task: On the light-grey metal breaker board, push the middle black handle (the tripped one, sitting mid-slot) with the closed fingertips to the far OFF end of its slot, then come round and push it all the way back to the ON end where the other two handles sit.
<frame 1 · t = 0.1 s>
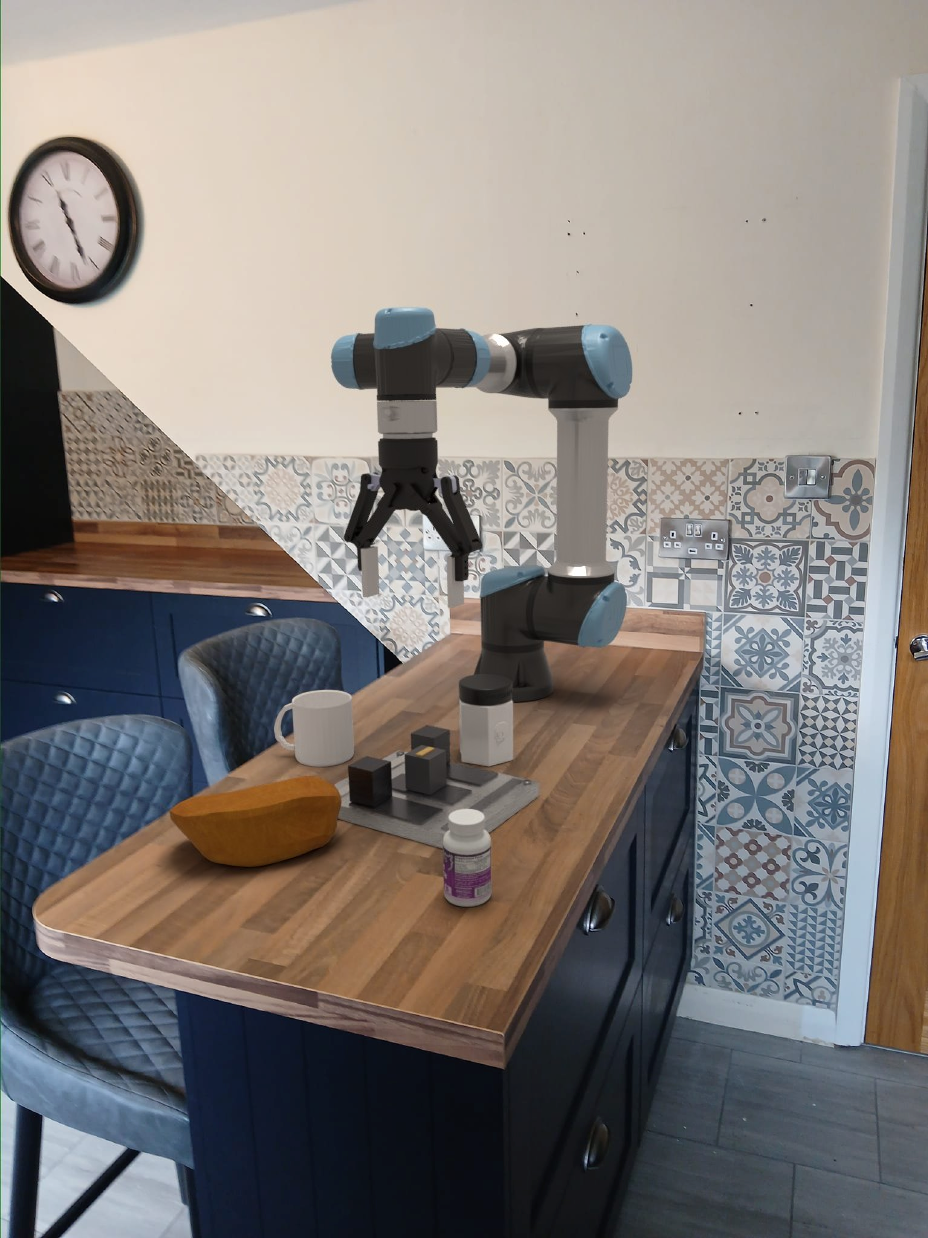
hand: (412, 600, 126), 28 cm above the counter, fingers open, 13 cm apart
jar: (486, 757, 148), on the counter
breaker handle: (425, 769, 130), point 5 cm above the counter, slide at 4.0 cm
mug: (316, 756, 149), on the counter
bread: (258, 848, 120), on the counter
pill bottle: (467, 897, 107), on the counter
panel: (426, 803, 131), on the counter
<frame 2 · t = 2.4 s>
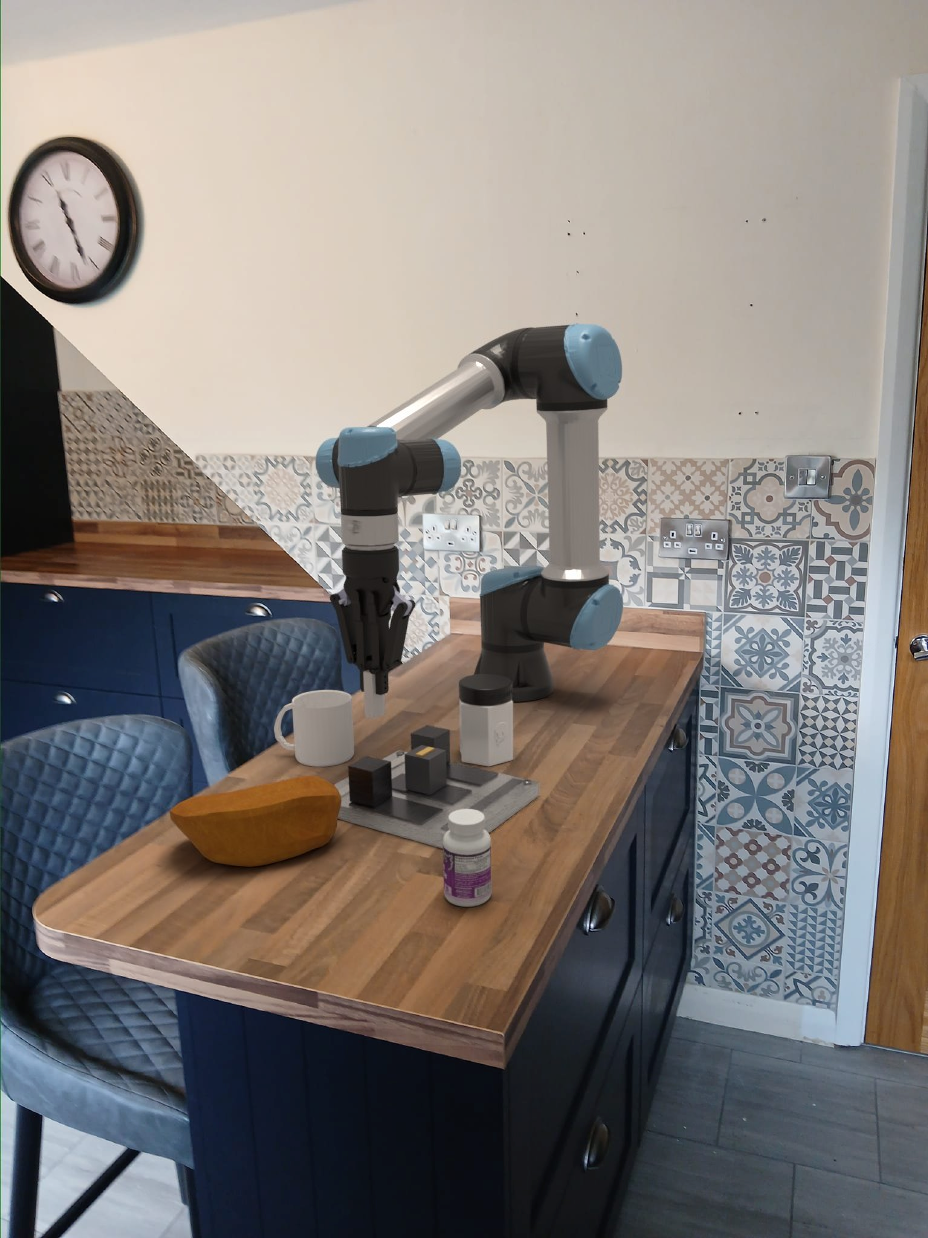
hand: (375, 715, 132), 11 cm above the counter, fingers closed
nothing on the counter moved.
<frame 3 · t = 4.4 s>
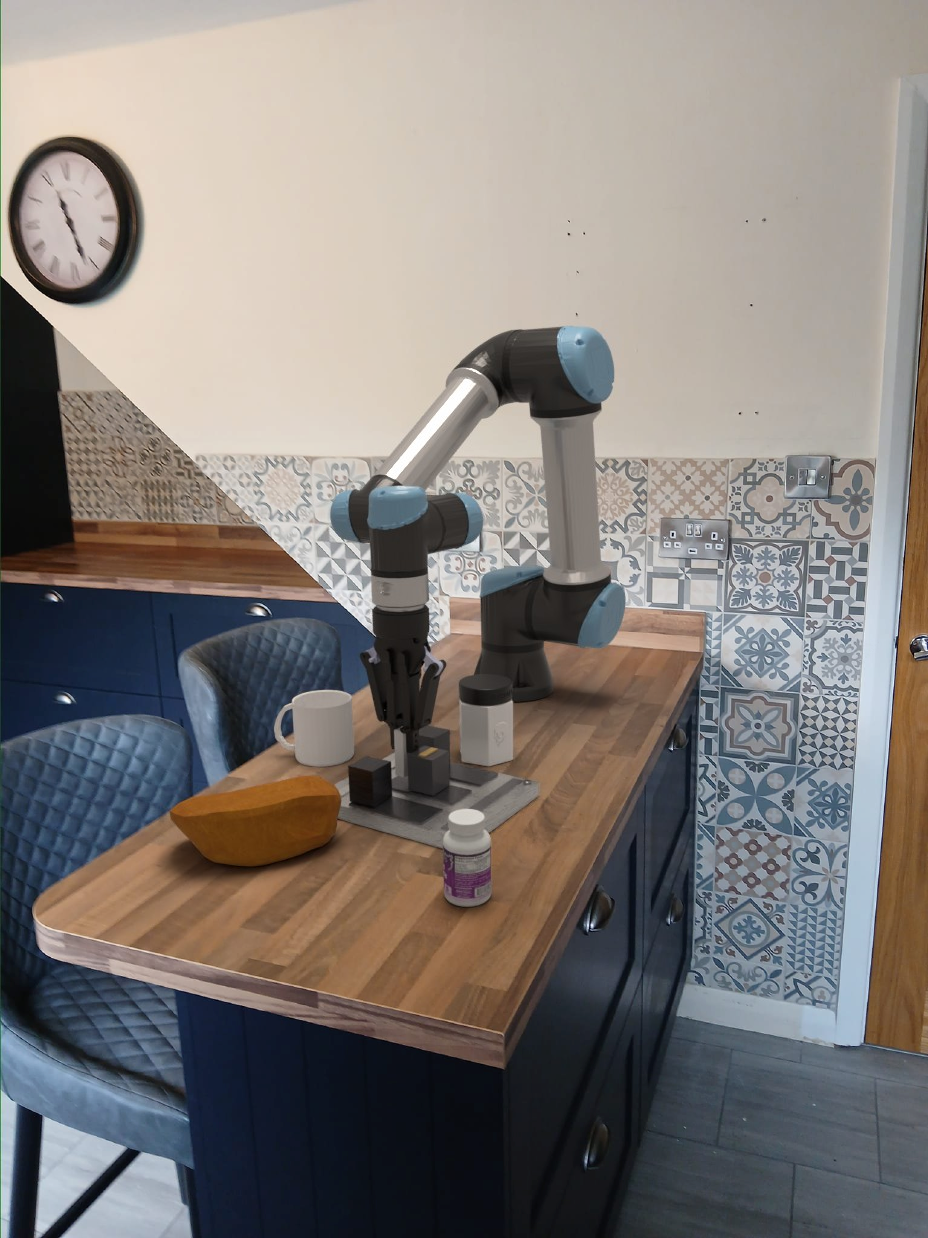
hand: (405, 772, 132), 4 cm above the counter, fingers closed
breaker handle: (428, 769, 130), point 5 cm above the counter, slide at 3.5 cm, touching gripper
everything else where it was.
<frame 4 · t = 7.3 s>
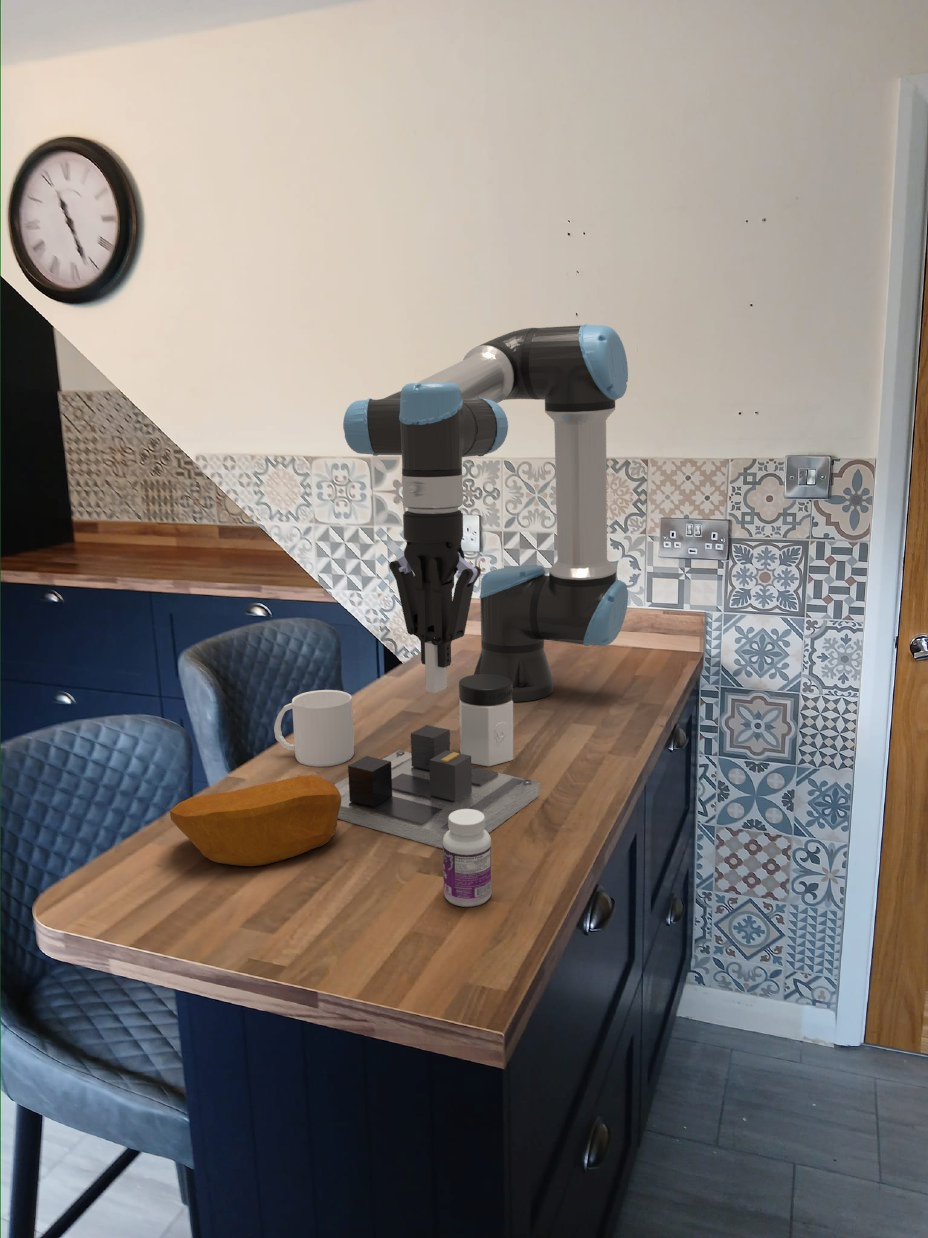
hand: (436, 689, 126), 17 cm above the counter, fingers closed
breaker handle: (450, 774, 128), point 5 cm above the counter, slide at 0.0 cm
everything else where it was.
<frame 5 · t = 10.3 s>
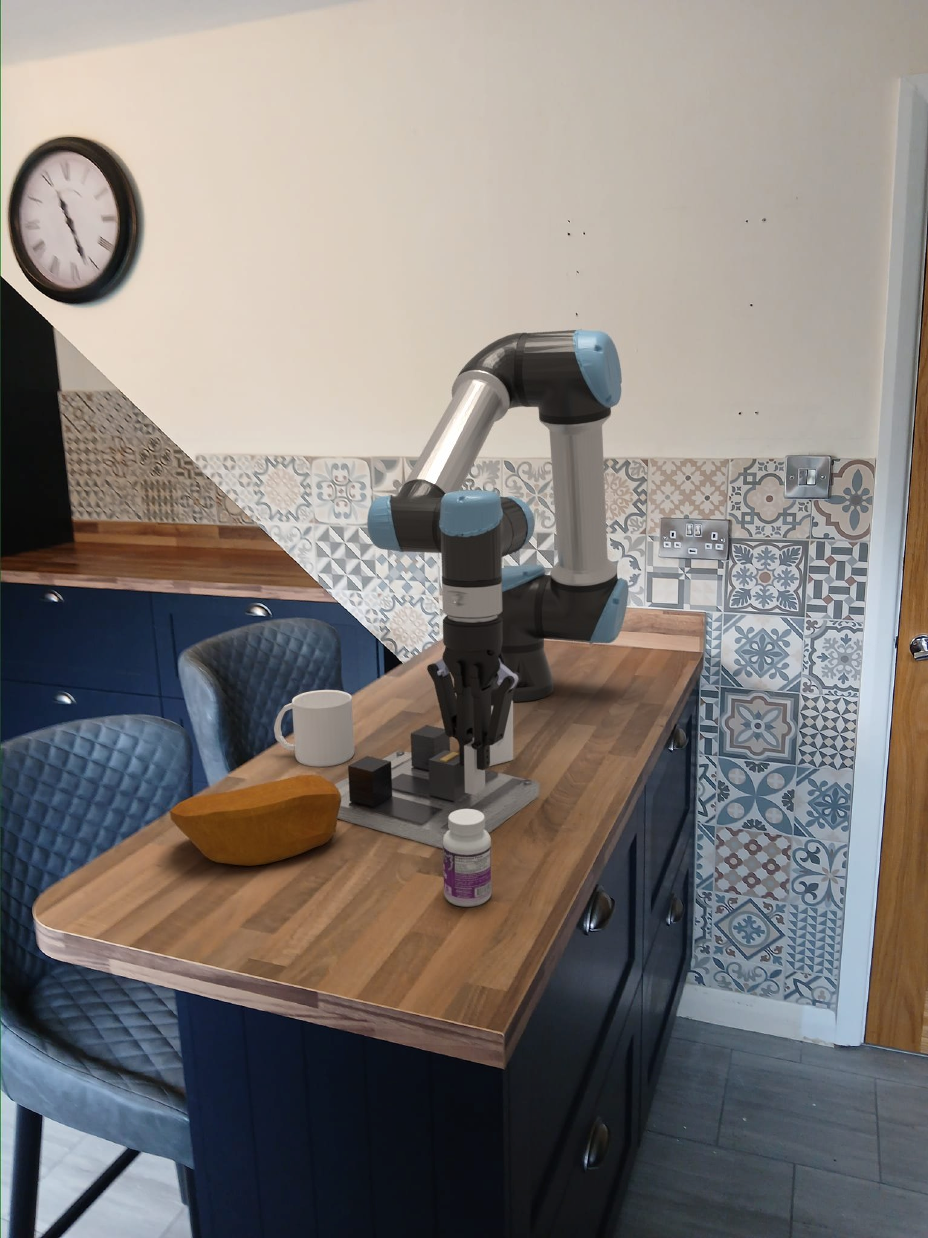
hand: (475, 790, 126), 4 cm above the counter, fingers closed
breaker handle: (449, 774, 128), point 5 cm above the counter, slide at 0.1 cm, touching gripper
everything else where it was.
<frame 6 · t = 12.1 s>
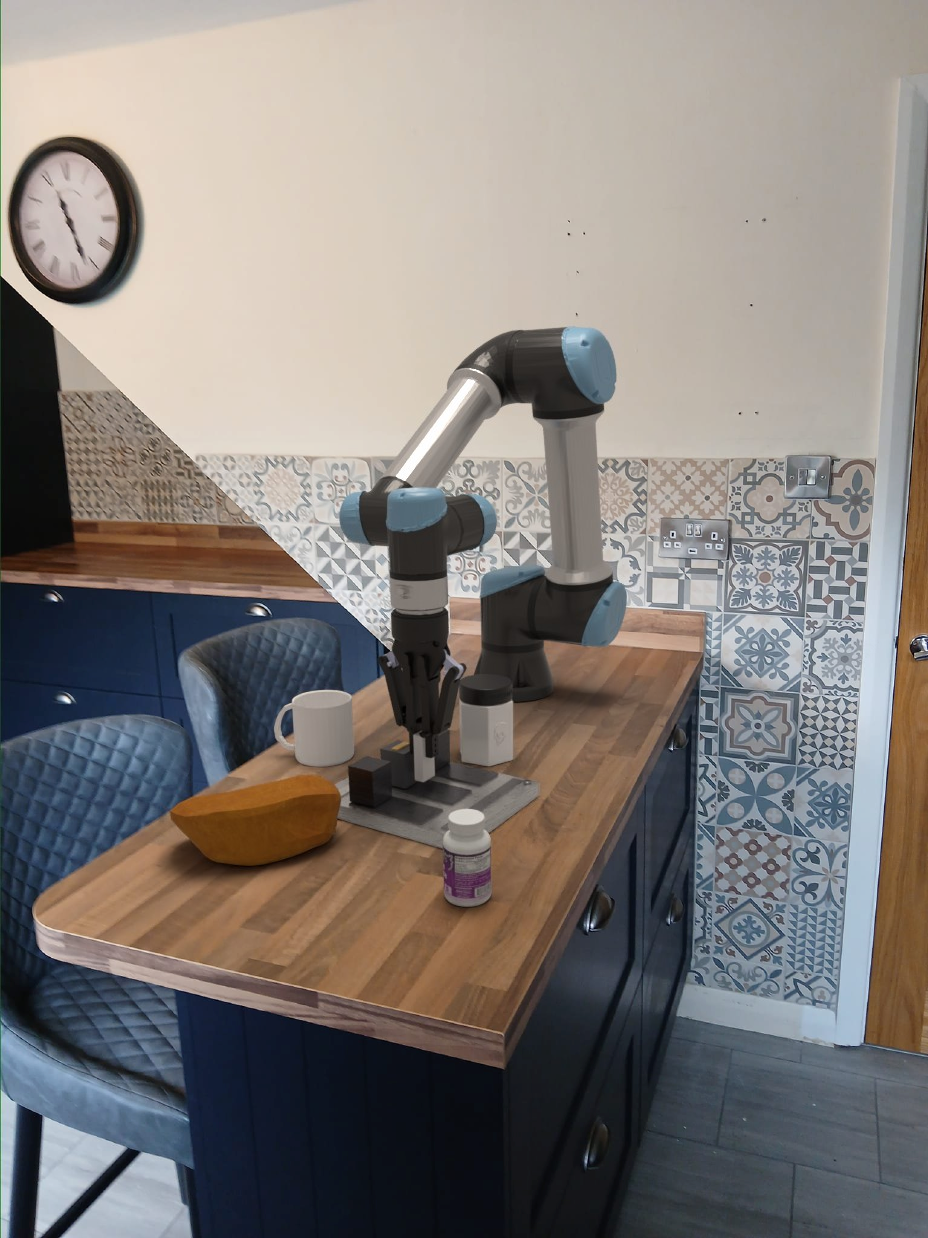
hand: (424, 777, 130), 4 cm above the counter, fingers closed
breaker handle: (401, 763, 132), point 5 cm above the counter, slide at 8.1 cm, touching gripper
everything else where it was.
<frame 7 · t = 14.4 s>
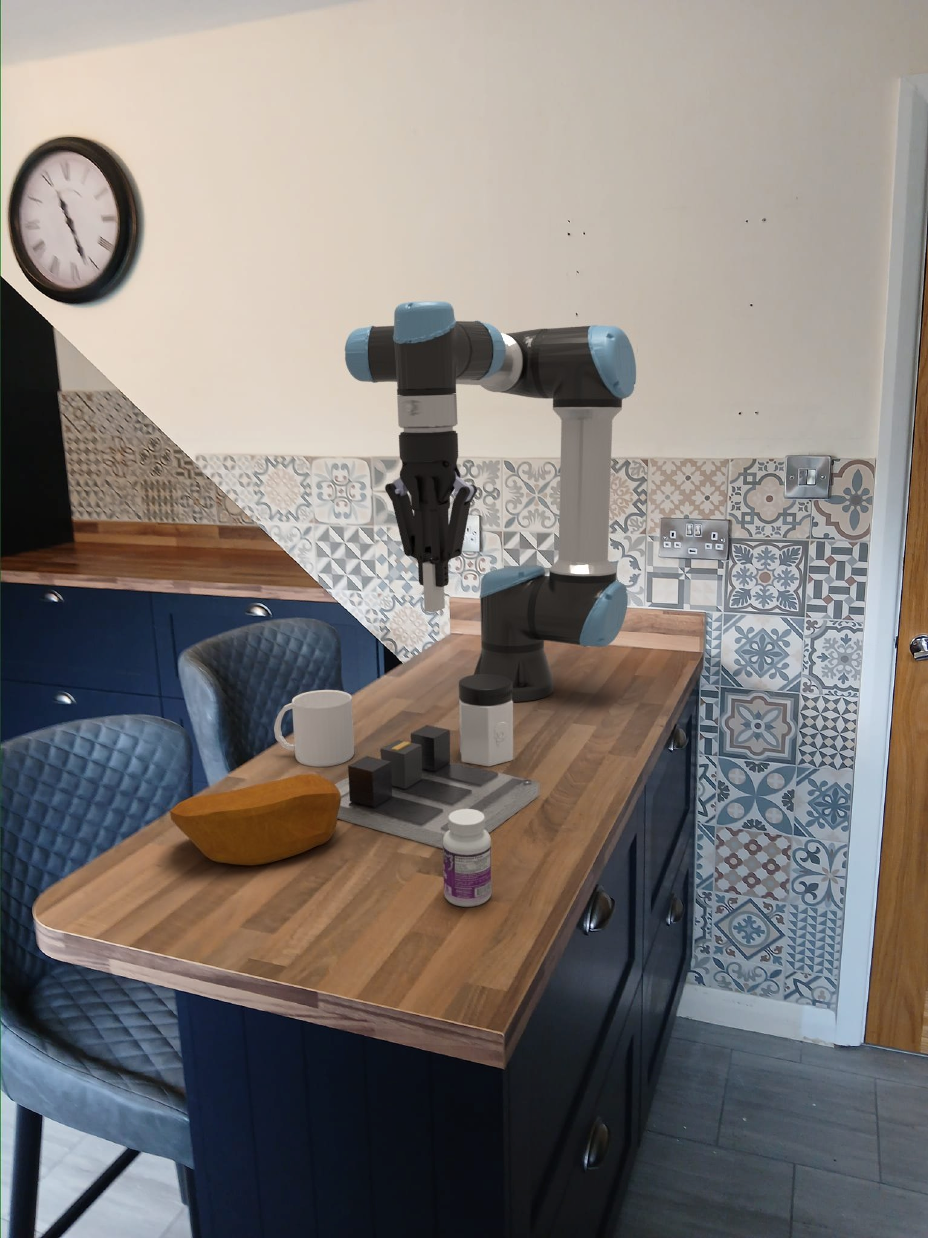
hand: (434, 609, 128), 26 cm above the counter, fingers closed
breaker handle: (401, 763, 132), point 5 cm above the counter, slide at 8.0 cm
everything else where it was.
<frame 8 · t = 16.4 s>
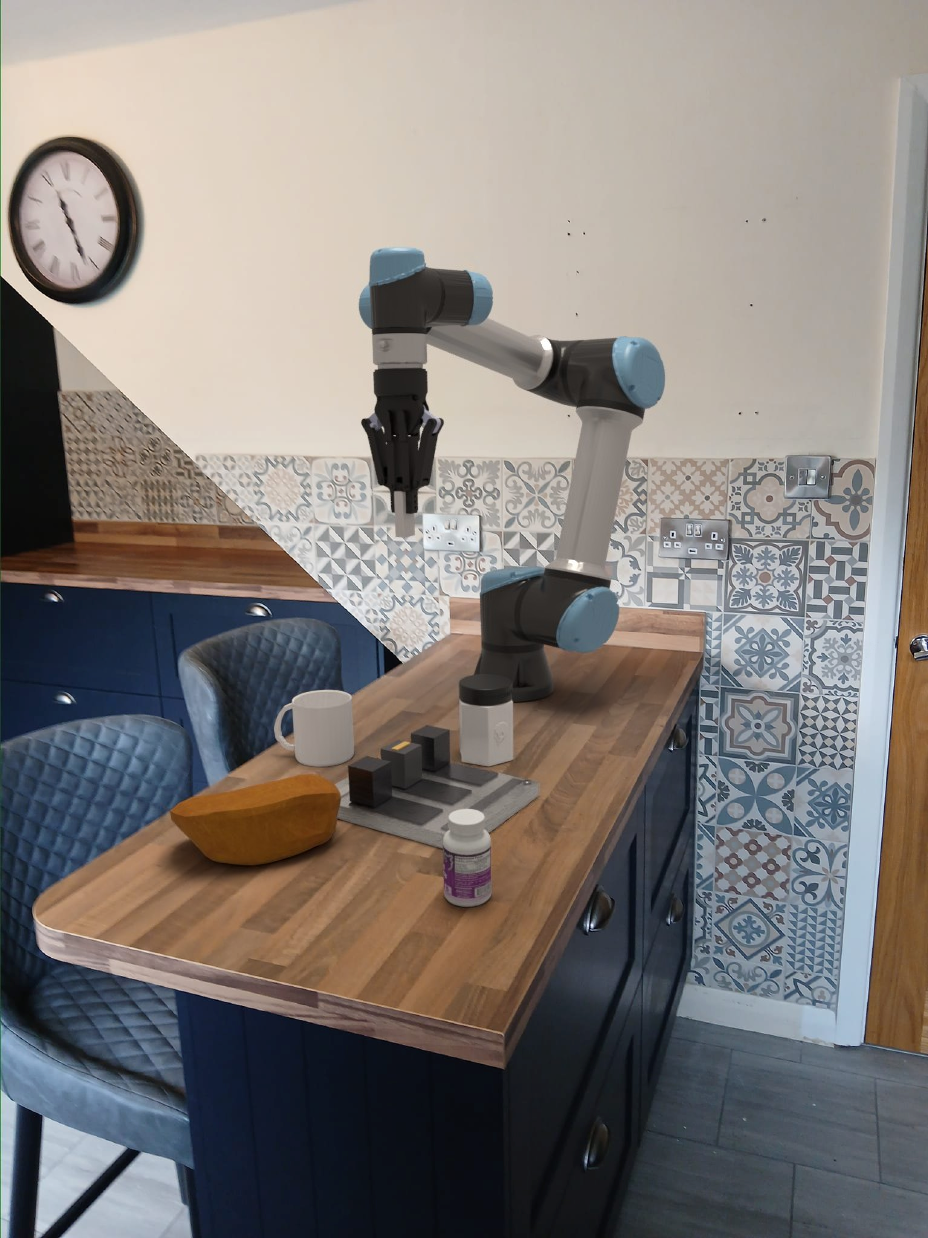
hand: (405, 535, 139), 34 cm above the counter, fingers closed
nothing on the counter moved.
at the end: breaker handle slide at 8.0 cm; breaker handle touching nothing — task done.
